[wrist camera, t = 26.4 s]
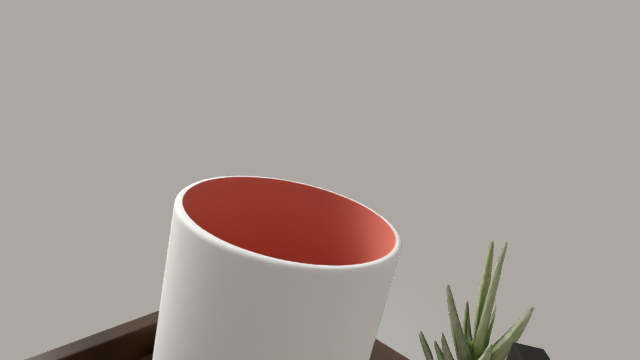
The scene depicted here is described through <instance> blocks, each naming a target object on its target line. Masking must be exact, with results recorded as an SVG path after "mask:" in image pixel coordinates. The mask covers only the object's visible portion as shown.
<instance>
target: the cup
mask: <svg viewBox="0 0 640 360" xmlns="http://www.w3.org/2000/svg"><path fill="white" fill-rule="evenodd" d="M401 247H402V246H401V239H400V237H399V235H398V233H397V231H396V230H395V228H394V227H393V226H392V225H391V224H390V223H389V222H388V221H387V220H386V219H384V218H383V217H382V216H380V215H379V214H378V213H376V212H375V211H373V210H372V209H370V208H368V207H366V206H365V205H363V204H360V203H359V202H357V201H354V200H352V199H350V198H348V197H345V196H342V195H340V194H337V193H334V192H332V191H328V190H325V189H322V188H319V187H315V186H311V185H307V184H303V183H299V182H294V181H289V180H283V179H276V178H268V177H256V176H224V177H216V178H210V179H205V180H202V181H198V182H196V183H193V184H191V185H189V186H187V187H186V188H184V189H183V190H182V191H181V192H180V193H179V194H178V196H177V197H176V199H175V203H174V209H173V216H172V224H171V231H170V238H169V245H168V252H167V259H166V267H165V273H164V281H163V288H162V295H161V302H160V309H159V316H158V323H157V330H156V338H155V345H154V352H153V359H152V360H369V359H370V355H371V352H372V348H373V345H374V342H375V338H376V335H377V331H378V328H379V324H380V321H381V318H382V314H383V310H384V307H385V304H386V300H387V297H388V294H389V290H390V287H391V283H392V280H393V276H394V273H395V269H396V266H397V263H398V259H399V255H400V252H401Z"/></svg>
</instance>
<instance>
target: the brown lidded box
mask: <svg viewBox="0 0 640 360" xmlns="http://www.w3.org/2000/svg"><path fill="white" fill-rule="evenodd" d="M158 316H159V311H157V312H154V313H152V314H148V315H146V316H143V317H140V318H138V319H135V320H132V321H129V322H127V323H124V324H121V325H118V326H116V327H113V328H110V329H108V330H105V331H102V332H99V333H97V334H94V335H91V336H89V337H86V338H83V339H81V340H78V341H75V342H72V343H69V344H67V345H64V346H61V347H59V348H56V349H53V350H50V351H48V352H45V353H42V354H40V355H37V356H34V357H31V358H29V359H26V360H152V359H153V352H154V345H155V338H156V330H157V323H158ZM369 360H409V359H408V358H406V357H404V356H403V355H401V354H399V353H398V352H396V351H395V350H393V349H391V348H390V347H388V346H387V345H385V344H383V343H382V342H380V341H378V340H377V339H375V342H374V345H373V348H372V352H371V355H370V359H369Z"/></svg>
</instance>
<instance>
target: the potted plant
mask: <svg viewBox="0 0 640 360" xmlns="http://www.w3.org/2000/svg"><path fill="white" fill-rule="evenodd" d="M493 248H494V242H493V241H492V242H491V244H490V247H489V250H488V253H487V256H486V260H485V264H484V269H483V274H482V279H481V283H480V288H479V294H478V300H477V307H476V314H475V323H474V331H473V339H472V335H471V327H470V319H469V306H468V302H467V303H466V307H465V311H464V317H463V323H462V328H461V325H460V321H459V318H458V314H457V311H456V307H455V304H454V300H453V296H452V293H451V290H450V286H449V285H447V303H448V310H449V317H450V323H451V331H452V337H453V341H454V346H455V351H456V355H457V360H505V358H506V357H507V356H508V354H509V351H510V349H511V346H512V344H513V342H514V343H516V342H517V341H518V339H519V338H520V336H521V334H522V332H523V331H524V329H525V327H526V325H527V323H528V322H529V319H530V317H531V315H532V311H533V309H534V308H533V307H531V308H530V309H529V310H528V311H527V312H526V313H525V315H523V317H521V318H520V319H519V321H518V322H517V323H516V324H515V325H513V327H511V328H510V330H509V331H507V332H506V333H505V334H504V336H502V337H501V338H500V339H499V340H498V341H497V342H496V343H495V344H494V345H493V346H492V343H490V344H489V339H490V334H491V330H492V326H493V322H494V318H495V312H496V307H495V309H494V312H493V314H492V317H491V312H492V308H493V304H494V301H495V295H496V291H497V287H498V283H499V279H500V274H501V269H502V264H503V261H504V257H505V252H506V248H507V242H506V243H505V245H504V247H503V248H502V251H501V254H500V256H499V259H498V263H497V265H496V267H495V271H494V274H493V276H492V280H491V270H492V260H493ZM490 281H491V284H490ZM490 317H491V319H490ZM419 337H420V341H421V344H422V348H423V351H424V353H425V356H426V360H433V357H432V353H431V351H430V348H429V346H428V344H427V342H426V340H425V338H424V335H423V333H422V332H420V334H419ZM441 342H442V351H443V353H442V351H441V349H440V348H439V346H438V344H437V343H436V341H435V342H434V347H435V350H436V354H437V357H438V360H454V359H453V357H452V354H451V352H450V350H449V347H448V344H447V342H446V339H445V336H444V335H443V333H442V336H441ZM488 344H489V345H488Z"/></svg>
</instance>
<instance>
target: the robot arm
mask: <svg viewBox="0 0 640 360" xmlns="http://www.w3.org/2000/svg"><path fill="white" fill-rule="evenodd" d="M506 360H550V358H549V357H548V355H547V354H546V352H545V351H544V349H540V348H535V347H531V346H527V345H523V344H519V343H514V342H513V344H512V346H511V349H510V351H509V354H508V356H507V359H506Z"/></svg>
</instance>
